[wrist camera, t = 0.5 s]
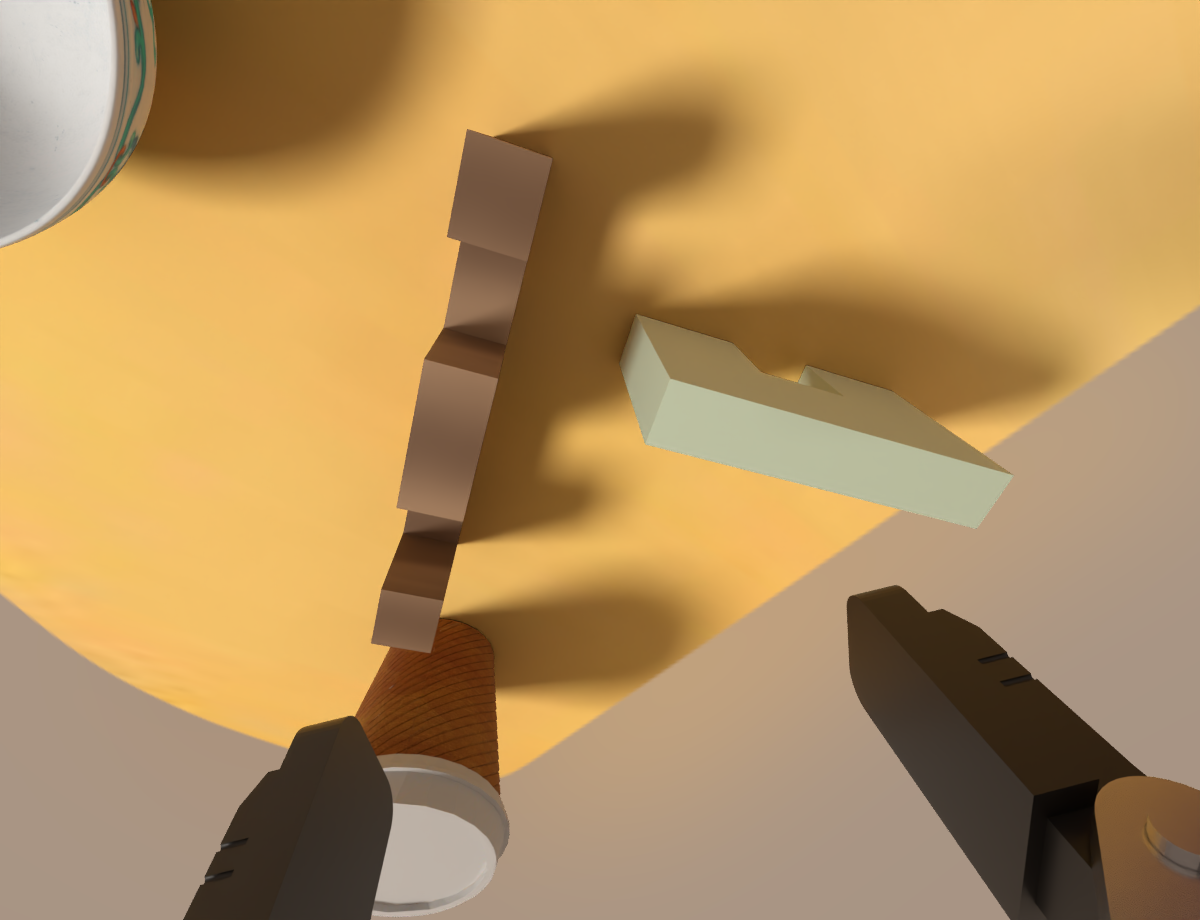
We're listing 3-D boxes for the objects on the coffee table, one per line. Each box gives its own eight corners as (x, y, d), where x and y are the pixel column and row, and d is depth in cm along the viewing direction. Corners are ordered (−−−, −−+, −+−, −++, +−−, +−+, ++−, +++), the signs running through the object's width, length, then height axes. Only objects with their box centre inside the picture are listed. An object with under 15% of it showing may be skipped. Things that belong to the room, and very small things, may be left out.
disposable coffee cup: (480, 576, 34) (448, 770, 23) (543, 684, 38) (540, 890, 27) (331, 626, 35) (234, 835, 24) (409, 727, 39) (356, 941, 28)
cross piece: (619, 363, 29) (645, 444, 21) (635, 313, 27) (670, 378, 19) (868, 433, 31) (976, 528, 23) (892, 391, 30) (1013, 475, 22)
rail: (492, 136, 24) (467, 128, 17) (552, 157, 24) (552, 158, 17) (410, 535, 32) (371, 643, 25) (456, 545, 33) (430, 653, 26)
